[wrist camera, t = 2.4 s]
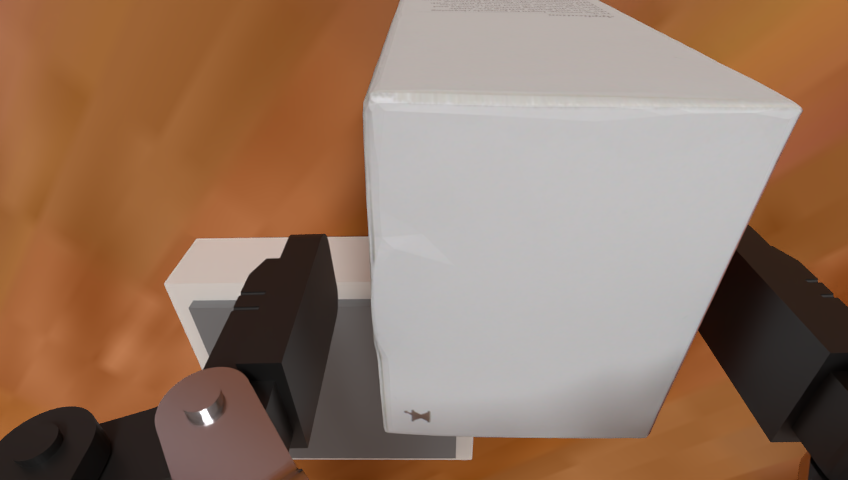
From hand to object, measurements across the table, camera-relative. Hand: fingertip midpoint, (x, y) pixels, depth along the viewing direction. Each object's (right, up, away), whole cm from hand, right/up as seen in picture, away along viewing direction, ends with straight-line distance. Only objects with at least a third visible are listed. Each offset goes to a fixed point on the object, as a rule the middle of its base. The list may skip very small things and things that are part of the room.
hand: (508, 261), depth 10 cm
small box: (0, +7, +9) cm, 11 cm away
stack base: (-6, -5, +17) cm, 19 cm away
